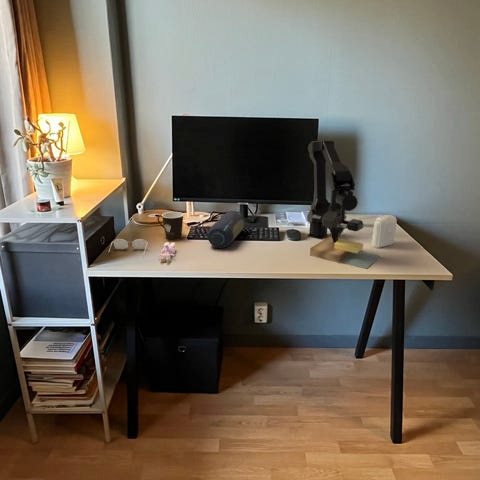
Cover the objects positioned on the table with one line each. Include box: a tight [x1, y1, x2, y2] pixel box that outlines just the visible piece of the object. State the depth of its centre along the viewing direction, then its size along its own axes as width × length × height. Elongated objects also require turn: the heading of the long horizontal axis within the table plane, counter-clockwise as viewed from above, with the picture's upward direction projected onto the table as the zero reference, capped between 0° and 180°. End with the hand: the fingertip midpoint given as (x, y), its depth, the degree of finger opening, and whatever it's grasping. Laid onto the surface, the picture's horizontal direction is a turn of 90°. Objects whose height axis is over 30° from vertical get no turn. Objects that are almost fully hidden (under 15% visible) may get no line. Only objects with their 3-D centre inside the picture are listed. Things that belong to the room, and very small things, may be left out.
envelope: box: [345, 213, 379, 228], centre depth 213 cm, size 24×2×14 cm
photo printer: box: [371, 214, 398, 249], centre depth 184 cm, size 10×4×12 cm, turn 123°
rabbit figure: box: [157, 241, 176, 264], centre depth 173 cm, size 6×6×15 cm
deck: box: [309, 236, 353, 264], centre depth 178 cm, size 12×16×3 cm
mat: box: [340, 250, 382, 270], centre depth 172 cm, size 10×14×1 cm
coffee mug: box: [157, 211, 184, 242], centre depth 192 cm, size 12×9×10 cm
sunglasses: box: [108, 238, 149, 257], centre depth 176 cm, size 14×8×5 cm, turn 90°
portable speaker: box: [207, 210, 246, 249], centre depth 189 cm, size 25×10×10 cm, turn 164°
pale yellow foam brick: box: [334, 238, 364, 253], centre depth 174 cm, size 9×6×2 cm, turn 57°
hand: (335, 242), depth 176 cm, fingers closed
